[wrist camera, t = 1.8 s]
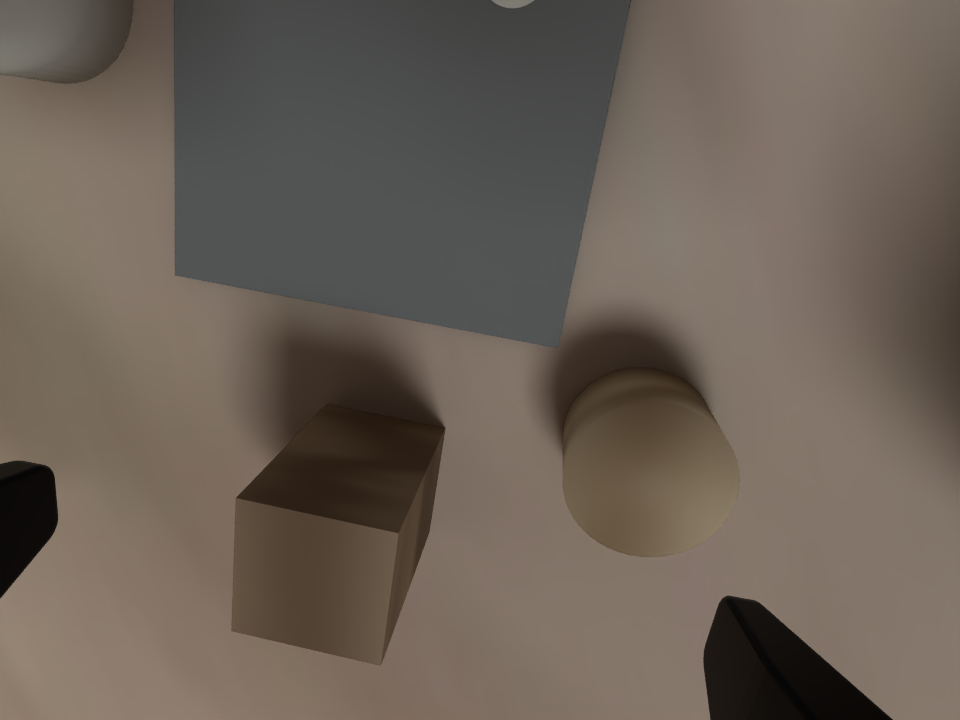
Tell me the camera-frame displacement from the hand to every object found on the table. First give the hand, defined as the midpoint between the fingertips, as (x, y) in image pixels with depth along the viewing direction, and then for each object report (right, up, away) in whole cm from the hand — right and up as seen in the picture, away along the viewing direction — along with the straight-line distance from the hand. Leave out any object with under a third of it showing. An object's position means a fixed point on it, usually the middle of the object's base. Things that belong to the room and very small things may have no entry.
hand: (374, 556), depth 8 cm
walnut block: (-2, -1, +13) cm, 13 cm away
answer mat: (-1, +10, +9) cm, 13 cm away
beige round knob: (+6, 0, +11) cm, 13 cm away
